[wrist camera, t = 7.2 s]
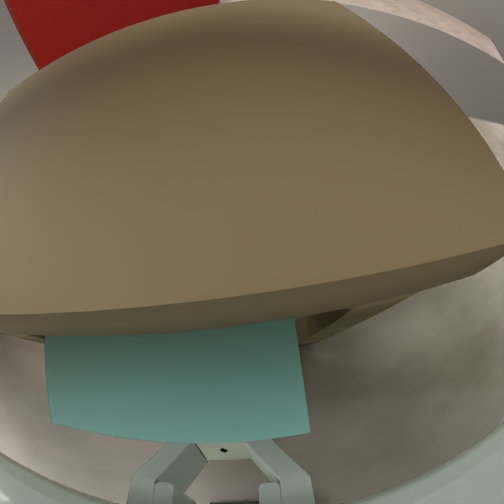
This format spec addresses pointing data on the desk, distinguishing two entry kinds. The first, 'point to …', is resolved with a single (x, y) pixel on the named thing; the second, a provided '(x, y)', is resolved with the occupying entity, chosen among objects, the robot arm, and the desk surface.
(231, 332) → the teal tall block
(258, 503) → the tray
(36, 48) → the book
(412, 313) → the desk surface
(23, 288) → the tunnel
